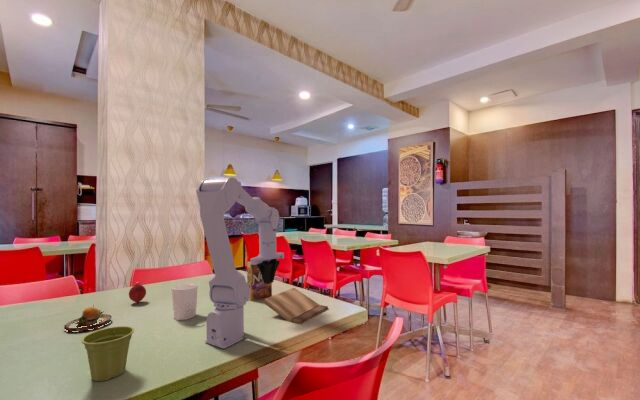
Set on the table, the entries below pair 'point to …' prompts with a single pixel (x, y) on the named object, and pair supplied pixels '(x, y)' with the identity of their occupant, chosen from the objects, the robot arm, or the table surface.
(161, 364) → the table surface
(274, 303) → the oak click plank
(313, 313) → the laid walnut plank
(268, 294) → the candy box
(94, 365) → the plant pot
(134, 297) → the onion
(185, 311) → the white cup
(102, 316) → the fruit on decorative plate
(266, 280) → the robot arm
